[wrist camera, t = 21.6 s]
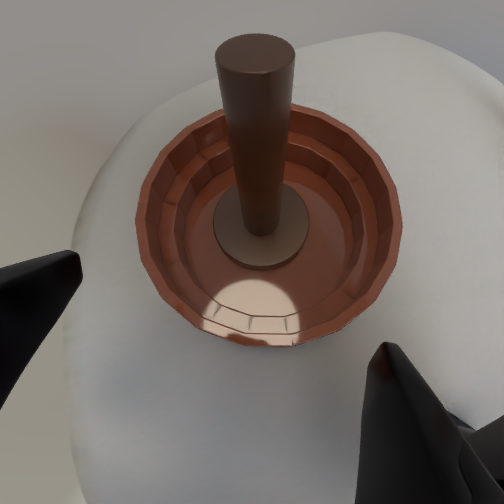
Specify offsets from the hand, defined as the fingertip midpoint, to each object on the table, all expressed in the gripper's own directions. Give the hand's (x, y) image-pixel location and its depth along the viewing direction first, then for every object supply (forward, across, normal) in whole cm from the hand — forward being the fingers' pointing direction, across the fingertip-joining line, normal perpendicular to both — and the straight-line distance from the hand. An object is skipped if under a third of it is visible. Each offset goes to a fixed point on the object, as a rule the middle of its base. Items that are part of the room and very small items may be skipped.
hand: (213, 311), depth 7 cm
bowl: (+12, 0, +3) cm, 13 cm away
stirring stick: (+12, +1, +3) cm, 12 cm away
